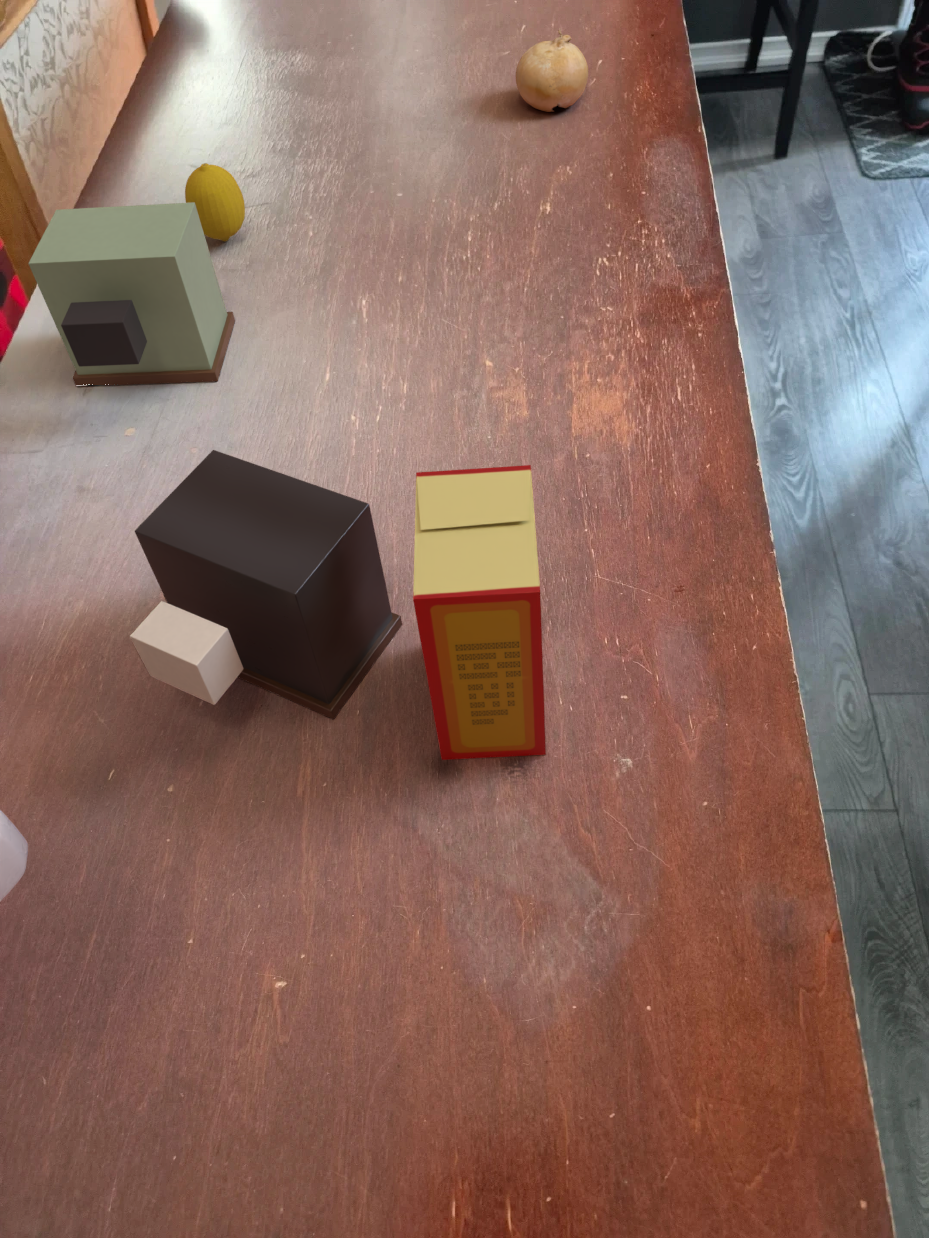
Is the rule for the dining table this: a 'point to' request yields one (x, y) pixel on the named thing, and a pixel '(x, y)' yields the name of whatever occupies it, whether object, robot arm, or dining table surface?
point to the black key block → (276, 576)
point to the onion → (552, 74)
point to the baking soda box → (480, 610)
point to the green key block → (139, 287)
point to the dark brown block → (104, 333)
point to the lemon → (216, 201)
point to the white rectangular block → (187, 652)
